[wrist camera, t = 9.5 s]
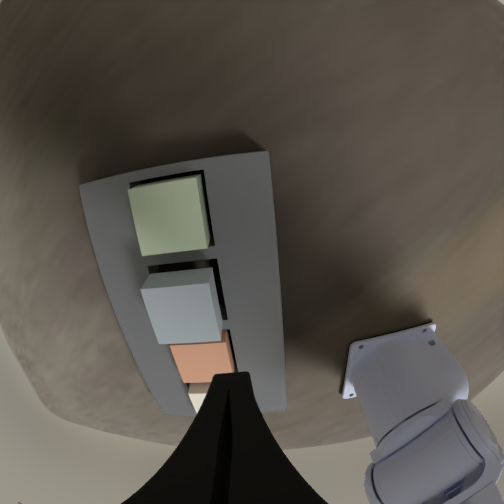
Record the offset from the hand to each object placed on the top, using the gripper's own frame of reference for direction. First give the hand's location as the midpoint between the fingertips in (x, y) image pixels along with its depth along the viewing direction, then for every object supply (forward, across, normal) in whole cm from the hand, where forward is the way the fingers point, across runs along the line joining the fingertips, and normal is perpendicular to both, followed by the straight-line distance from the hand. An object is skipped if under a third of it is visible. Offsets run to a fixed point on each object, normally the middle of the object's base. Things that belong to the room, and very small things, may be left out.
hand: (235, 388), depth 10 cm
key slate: (+9, +3, 0) cm, 9 cm away
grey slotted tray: (+10, +3, +3) cm, 11 cm away
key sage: (+10, +3, -5) cm, 12 cm away
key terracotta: (+10, +3, +5) cm, 12 cm away
